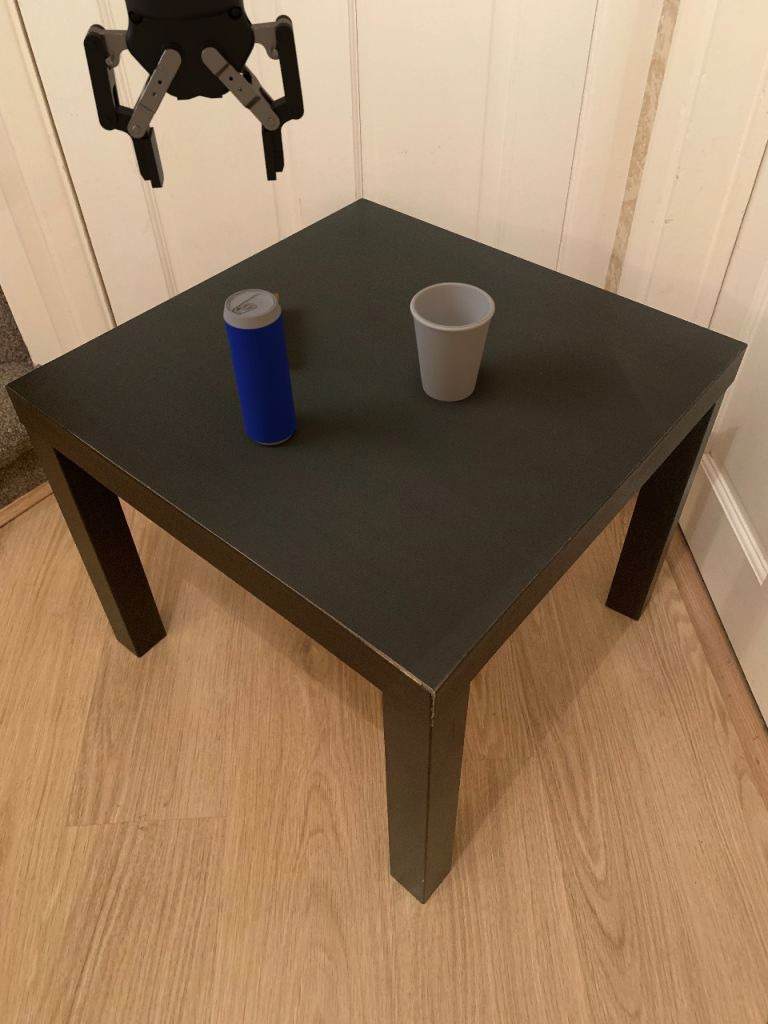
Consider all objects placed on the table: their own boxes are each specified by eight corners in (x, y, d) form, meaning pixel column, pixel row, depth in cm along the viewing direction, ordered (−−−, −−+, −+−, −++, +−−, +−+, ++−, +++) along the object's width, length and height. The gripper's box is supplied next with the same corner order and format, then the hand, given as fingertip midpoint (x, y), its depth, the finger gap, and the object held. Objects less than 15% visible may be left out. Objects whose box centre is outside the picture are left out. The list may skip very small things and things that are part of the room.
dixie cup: (417, 414, 82) (418, 332, 75) (404, 365, 88) (403, 285, 81) (496, 405, 83) (504, 323, 76) (477, 357, 89) (484, 277, 81)
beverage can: (275, 407, 83) (255, 280, 72) (307, 430, 81) (291, 302, 70) (236, 431, 81) (209, 303, 70) (268, 455, 78) (245, 326, 67)
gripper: (286, -100, 51) (307, 154, 63) (61, -92, 50) (125, 165, 62) (289, -75, 46) (311, 197, 58) (39, -65, 45) (113, 209, 57)
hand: (215, 180), depth 60 cm, fingers open, 8 cm apart
